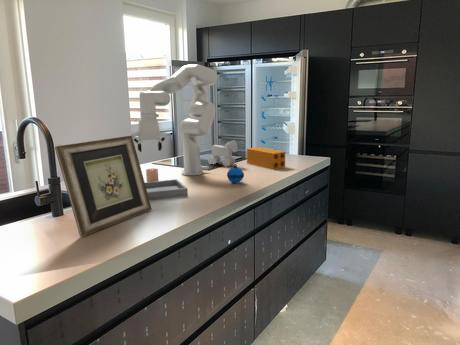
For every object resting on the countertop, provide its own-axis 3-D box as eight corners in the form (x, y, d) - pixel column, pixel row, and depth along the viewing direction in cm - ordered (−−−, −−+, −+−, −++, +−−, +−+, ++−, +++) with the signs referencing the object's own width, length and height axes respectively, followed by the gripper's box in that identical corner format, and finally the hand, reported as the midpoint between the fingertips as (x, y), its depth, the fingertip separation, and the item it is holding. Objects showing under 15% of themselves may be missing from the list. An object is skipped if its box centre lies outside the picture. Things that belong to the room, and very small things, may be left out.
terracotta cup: (157, 182, 196) (156, 167, 194) (159, 185, 190) (158, 170, 188) (146, 184, 193) (145, 169, 192) (147, 186, 188) (146, 171, 186)
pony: (241, 165, 238) (240, 139, 234) (232, 168, 229) (232, 141, 226) (215, 162, 248) (214, 137, 245) (206, 165, 240) (205, 139, 236)
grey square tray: (177, 185, 188) (177, 179, 188) (187, 195, 170) (187, 188, 169) (137, 190, 181) (136, 183, 180) (143, 201, 163) (143, 193, 162)
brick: (285, 167, 229) (285, 151, 227) (273, 169, 224) (273, 153, 221) (258, 161, 250) (258, 147, 248) (246, 163, 244) (246, 148, 242)
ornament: (224, 184, 190) (224, 165, 188) (230, 180, 198) (230, 162, 195) (240, 185, 187) (240, 166, 185) (245, 181, 195) (245, 162, 193)
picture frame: (82, 238, 123) (72, 147, 116) (64, 232, 128) (53, 145, 121) (152, 210, 150) (147, 136, 143) (134, 207, 155) (129, 135, 148)
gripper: (164, 116, 191) (165, 149, 194) (129, 117, 185) (131, 151, 188) (167, 116, 184) (168, 151, 187) (131, 117, 178) (133, 153, 181)
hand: (150, 151), depth 188 cm, fingers open, 9 cm apart
